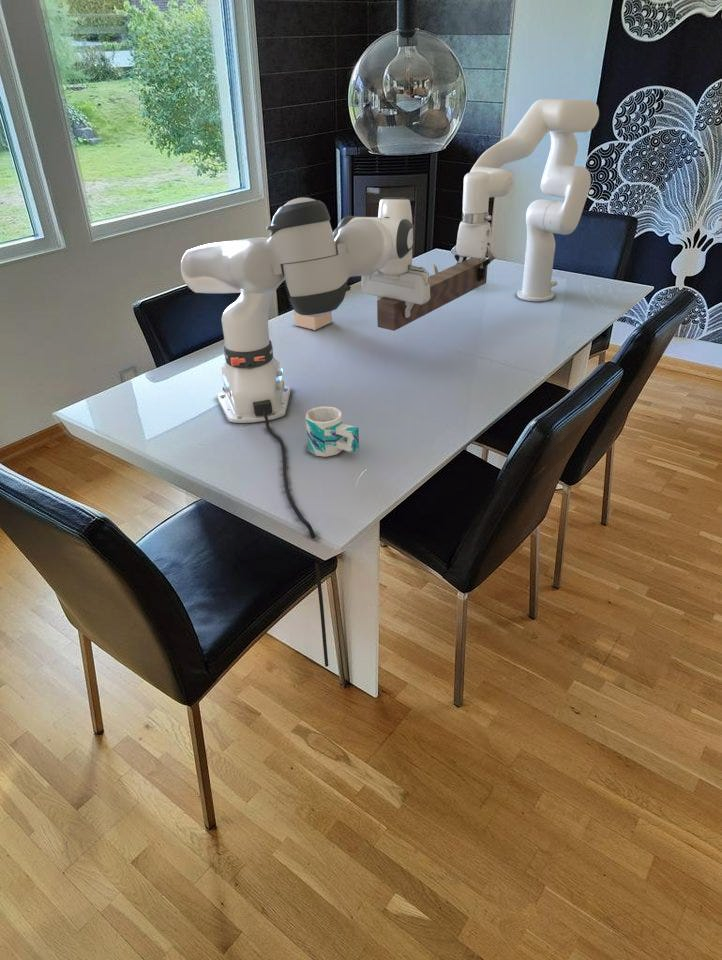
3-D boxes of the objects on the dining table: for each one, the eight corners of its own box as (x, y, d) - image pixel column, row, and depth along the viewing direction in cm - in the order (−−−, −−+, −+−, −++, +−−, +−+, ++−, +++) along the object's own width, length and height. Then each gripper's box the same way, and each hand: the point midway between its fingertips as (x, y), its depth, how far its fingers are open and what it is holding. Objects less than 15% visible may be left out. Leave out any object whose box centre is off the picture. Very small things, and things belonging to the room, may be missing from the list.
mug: (322, 435, 155) (320, 402, 150) (366, 448, 149) (365, 414, 145) (301, 451, 149) (297, 417, 145) (345, 465, 144) (343, 430, 139)
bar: (394, 331, 179) (394, 304, 175) (377, 327, 182) (376, 300, 178) (486, 283, 212) (488, 259, 208) (470, 280, 214) (472, 257, 211)
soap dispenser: (294, 325, 217) (288, 256, 206) (311, 317, 223) (306, 249, 211) (325, 332, 211) (320, 261, 199) (342, 324, 217) (338, 255, 205)
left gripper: (435, 265, 171) (434, 318, 178) (371, 254, 182) (372, 305, 189) (422, 271, 167) (421, 325, 174) (357, 260, 177) (359, 311, 185)
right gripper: (507, 218, 197) (502, 279, 207) (456, 212, 206) (454, 271, 216) (494, 223, 192) (490, 286, 202) (443, 217, 201) (441, 277, 211)
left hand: (395, 314), depth 182 cm, fingers closed on bar, 5 cm apart
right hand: (471, 278), depth 209 cm, fingers closed on bar, 5 cm apart
